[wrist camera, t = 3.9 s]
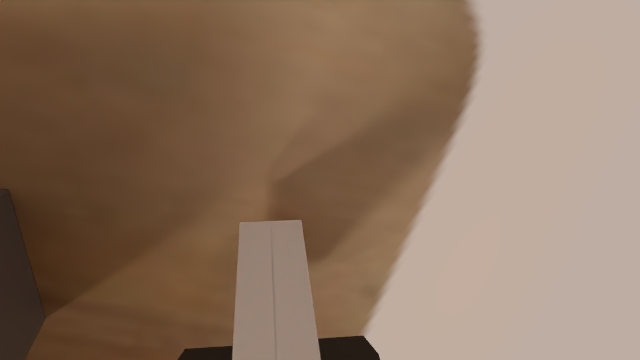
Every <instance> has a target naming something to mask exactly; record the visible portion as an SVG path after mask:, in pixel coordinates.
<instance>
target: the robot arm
mask: <svg viewBox="0 0 640 360" xmlns="http://www.w3.org/2000/svg"><path fill="white" fill-rule="evenodd" d="M178 360H380V358H379V354H378V353H377V352H376V351H375V350H374V348H373V347H372V346H371V345H370V343H369V342H368V341H367V340H366V338H365V337H364V336H352V337H337V338H321V339H318V336H317V328H316V321H315V314H314V307H313V300H312V293H311V285H310V278H309V271H308V264H307V257H306V249H305V242H304V235H303V228H302V221H301V220H283V221H260V222H240V227H239V245H238V263H237V281H236V299H235V317H234V335H233V346H224V347H208V348H193V349H185V350H184V352H183V353H182V354H181V356H180V357H179V359H178Z"/></svg>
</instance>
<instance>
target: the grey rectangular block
mask: <svg viewBox="0 0 640 360" xmlns="http://www.w3.org/2000/svg"><path fill="white" fill-rule="evenodd" d="M44 320H45V314H44V311H43V307H42V304H41V301H40V297H39V294H38V290H37V287H36V283H35V280H34V277H33V273H32V270H31V266H30V263H29V259H28V256H27V253H26V249H25V246H24V242H23V239H22V235H21V232H20V228H19V225H18V222H17V218H16V215H15V211H14V208H13V204H12V201H11V198H10V194H9V191H8V189H1V190H0V360H24V359H25V357H26V355H27V353H28V351H29V349H30V347H31V346H32V344H33V342H34V340H35V338H36V336H37V334H38V332H39V330H40V328H41V326H42V324H43V322H44Z"/></svg>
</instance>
